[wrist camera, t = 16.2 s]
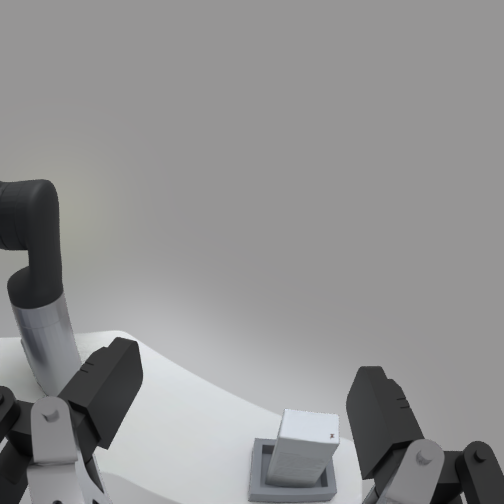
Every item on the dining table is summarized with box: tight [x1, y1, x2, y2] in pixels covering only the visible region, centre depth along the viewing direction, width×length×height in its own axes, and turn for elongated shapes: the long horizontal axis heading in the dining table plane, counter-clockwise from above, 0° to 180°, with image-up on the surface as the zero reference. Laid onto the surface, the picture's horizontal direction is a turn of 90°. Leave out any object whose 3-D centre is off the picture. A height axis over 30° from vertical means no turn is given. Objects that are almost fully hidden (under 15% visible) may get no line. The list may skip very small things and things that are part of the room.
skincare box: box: [265, 409, 340, 488], centre depth 25 cm, size 6×4×12 cm
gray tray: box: [248, 438, 337, 503], centre depth 26 cm, size 10×9×3 cm
